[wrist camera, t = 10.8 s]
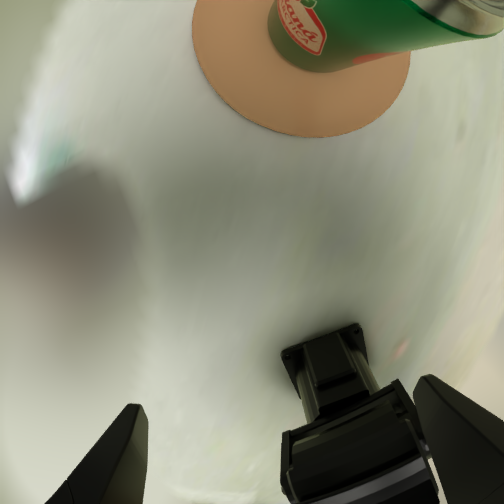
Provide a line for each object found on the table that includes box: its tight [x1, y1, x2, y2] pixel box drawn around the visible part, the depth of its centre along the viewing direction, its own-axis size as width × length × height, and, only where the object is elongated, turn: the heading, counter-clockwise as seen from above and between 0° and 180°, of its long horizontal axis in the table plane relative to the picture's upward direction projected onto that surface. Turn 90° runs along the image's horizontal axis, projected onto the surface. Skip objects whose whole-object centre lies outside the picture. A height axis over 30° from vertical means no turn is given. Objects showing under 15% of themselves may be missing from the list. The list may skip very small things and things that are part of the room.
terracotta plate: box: [192, 0, 411, 137], centre depth 14 cm, size 12×12×2 cm
